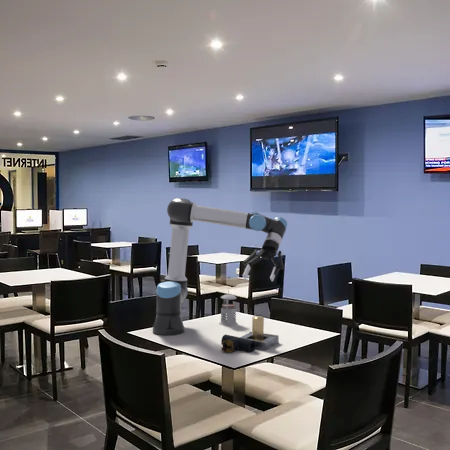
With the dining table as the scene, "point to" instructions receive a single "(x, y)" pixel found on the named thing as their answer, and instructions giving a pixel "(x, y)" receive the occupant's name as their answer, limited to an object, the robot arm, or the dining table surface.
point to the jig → (264, 341)
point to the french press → (228, 311)
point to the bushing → (257, 328)
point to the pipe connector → (237, 344)
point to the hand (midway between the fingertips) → (257, 278)
